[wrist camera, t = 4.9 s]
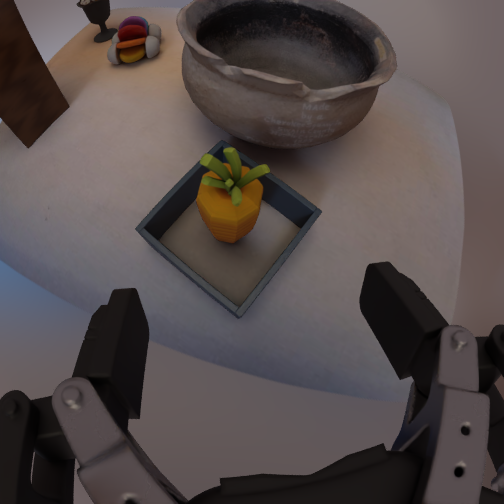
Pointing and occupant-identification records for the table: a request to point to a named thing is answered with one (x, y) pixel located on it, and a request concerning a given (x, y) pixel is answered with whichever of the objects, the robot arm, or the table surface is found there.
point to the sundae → (98, 17)
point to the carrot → (230, 196)
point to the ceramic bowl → (283, 67)
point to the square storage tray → (186, 193)
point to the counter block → (25, 80)
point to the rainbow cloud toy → (134, 41)
